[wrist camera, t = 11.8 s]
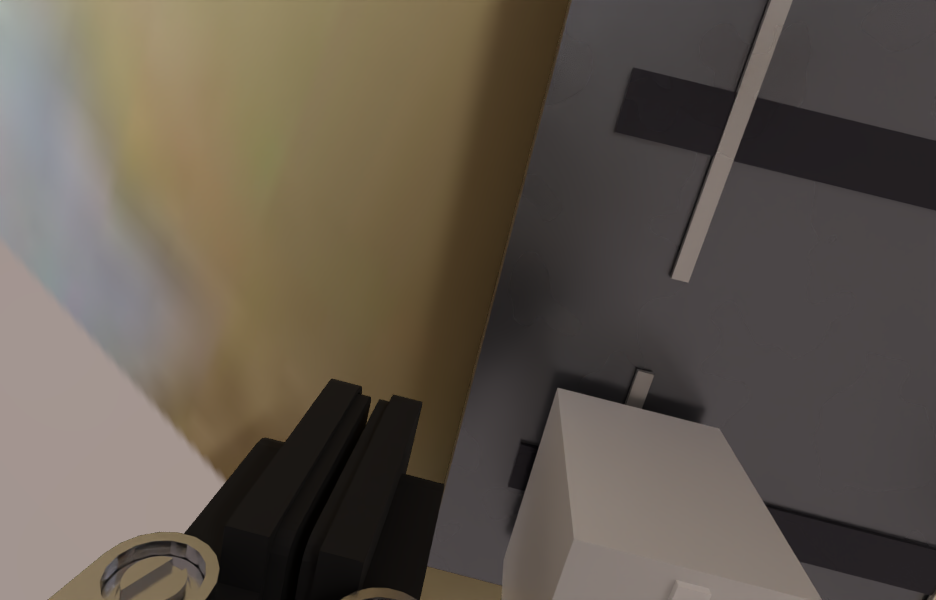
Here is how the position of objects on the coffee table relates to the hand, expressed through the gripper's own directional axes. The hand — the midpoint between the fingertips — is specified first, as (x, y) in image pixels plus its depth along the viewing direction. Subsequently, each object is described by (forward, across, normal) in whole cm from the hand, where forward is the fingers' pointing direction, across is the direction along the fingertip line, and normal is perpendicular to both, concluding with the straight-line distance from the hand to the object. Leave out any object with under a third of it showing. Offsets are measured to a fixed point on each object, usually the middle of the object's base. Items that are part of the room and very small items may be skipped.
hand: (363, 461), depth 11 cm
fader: (+1, -5, 0) cm, 5 cm away
